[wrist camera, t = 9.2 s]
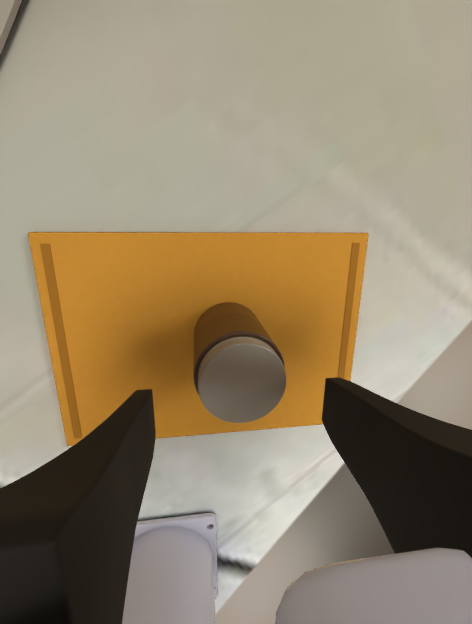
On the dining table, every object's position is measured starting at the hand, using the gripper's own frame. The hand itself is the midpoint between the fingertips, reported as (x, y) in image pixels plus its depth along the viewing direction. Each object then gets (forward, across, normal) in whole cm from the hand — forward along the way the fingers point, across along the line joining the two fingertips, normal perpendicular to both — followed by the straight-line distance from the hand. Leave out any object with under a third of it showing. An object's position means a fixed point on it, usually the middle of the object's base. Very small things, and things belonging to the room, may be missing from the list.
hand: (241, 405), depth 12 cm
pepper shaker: (+8, 0, 0) cm, 8 cm away
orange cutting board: (+8, +1, 0) cm, 8 cm away
